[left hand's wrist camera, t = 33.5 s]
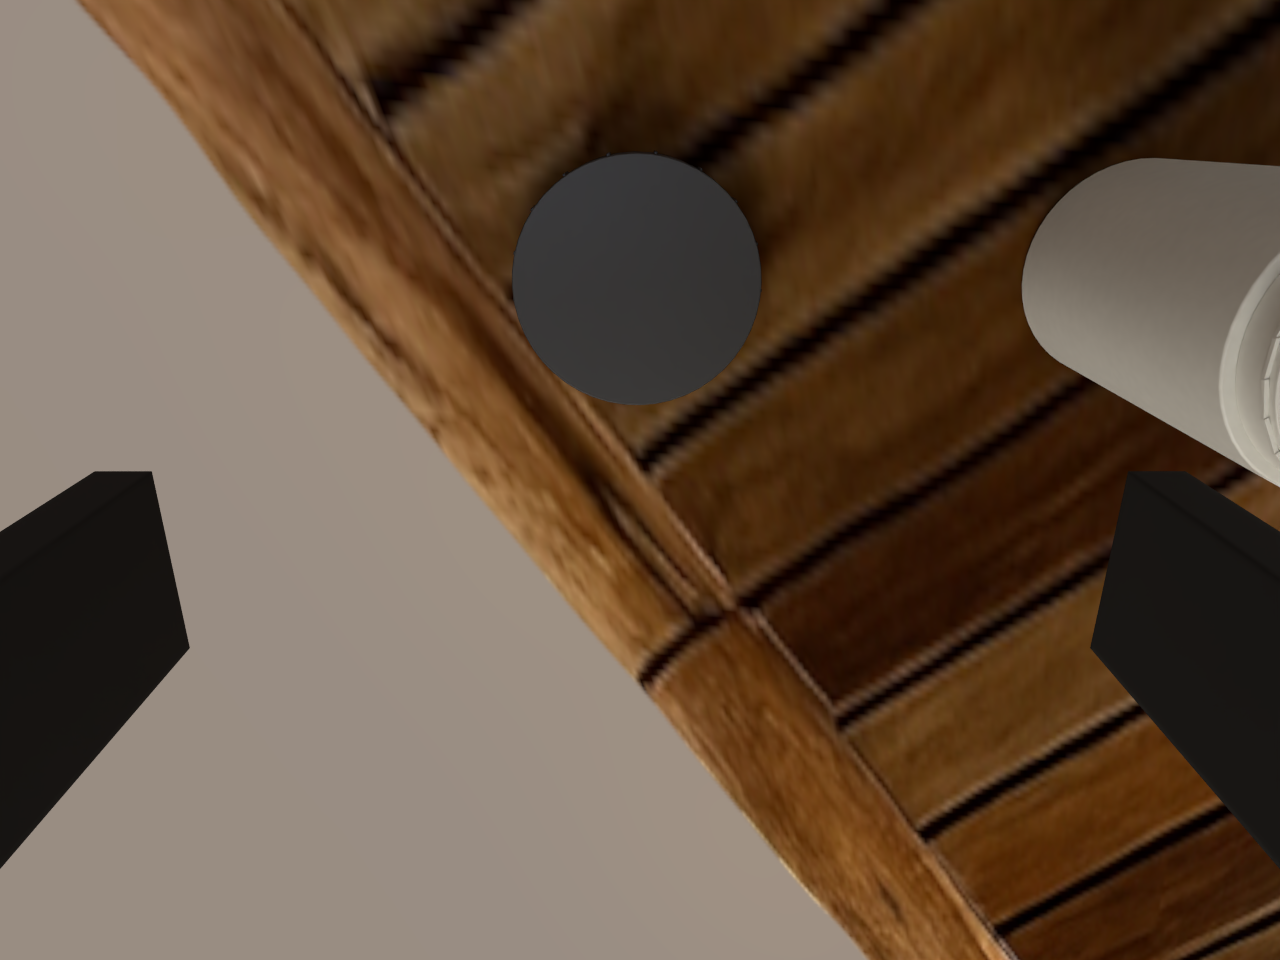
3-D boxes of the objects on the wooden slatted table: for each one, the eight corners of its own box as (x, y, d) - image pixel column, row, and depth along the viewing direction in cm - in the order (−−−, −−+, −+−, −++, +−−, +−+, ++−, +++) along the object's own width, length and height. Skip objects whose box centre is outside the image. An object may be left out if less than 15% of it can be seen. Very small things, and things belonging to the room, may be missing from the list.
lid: (496, 363, 38) (489, 375, 36) (542, 120, 34) (537, 120, 32) (718, 416, 38) (722, 430, 37) (786, 184, 35) (793, 188, 33)
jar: (977, 307, 37) (1187, 422, 23) (1122, 112, 34) (1463, 105, 20) (1135, 412, 38) (1423, 580, 24) (1285, 234, 36) (1708, 306, 22)
